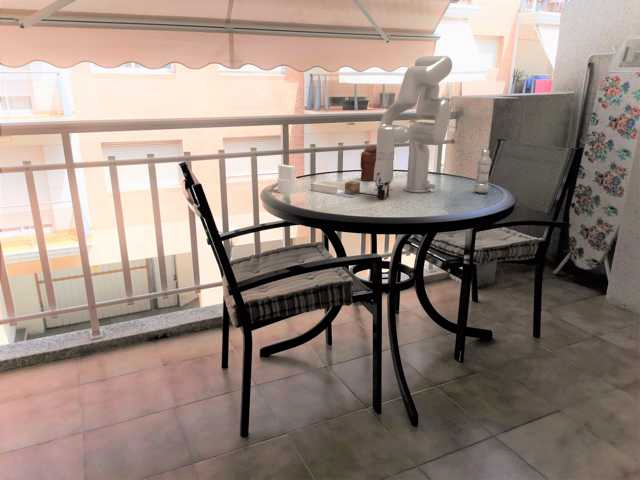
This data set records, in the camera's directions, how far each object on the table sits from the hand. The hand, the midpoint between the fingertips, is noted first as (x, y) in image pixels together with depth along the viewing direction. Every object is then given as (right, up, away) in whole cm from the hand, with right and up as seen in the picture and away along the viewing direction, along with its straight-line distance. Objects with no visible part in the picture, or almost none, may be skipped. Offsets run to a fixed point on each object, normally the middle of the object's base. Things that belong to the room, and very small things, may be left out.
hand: (382, 197), depth 209 cm
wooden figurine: (-1, +12, +40) cm, 42 cm away
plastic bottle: (+48, +3, +13) cm, 49 cm away
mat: (-14, +2, +9) cm, 17 cm away
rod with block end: (-7, +1, +5) cm, 8 cm away
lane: (-23, +5, +16) cm, 29 cm away
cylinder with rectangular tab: (-43, +4, +14) cm, 45 cm away
